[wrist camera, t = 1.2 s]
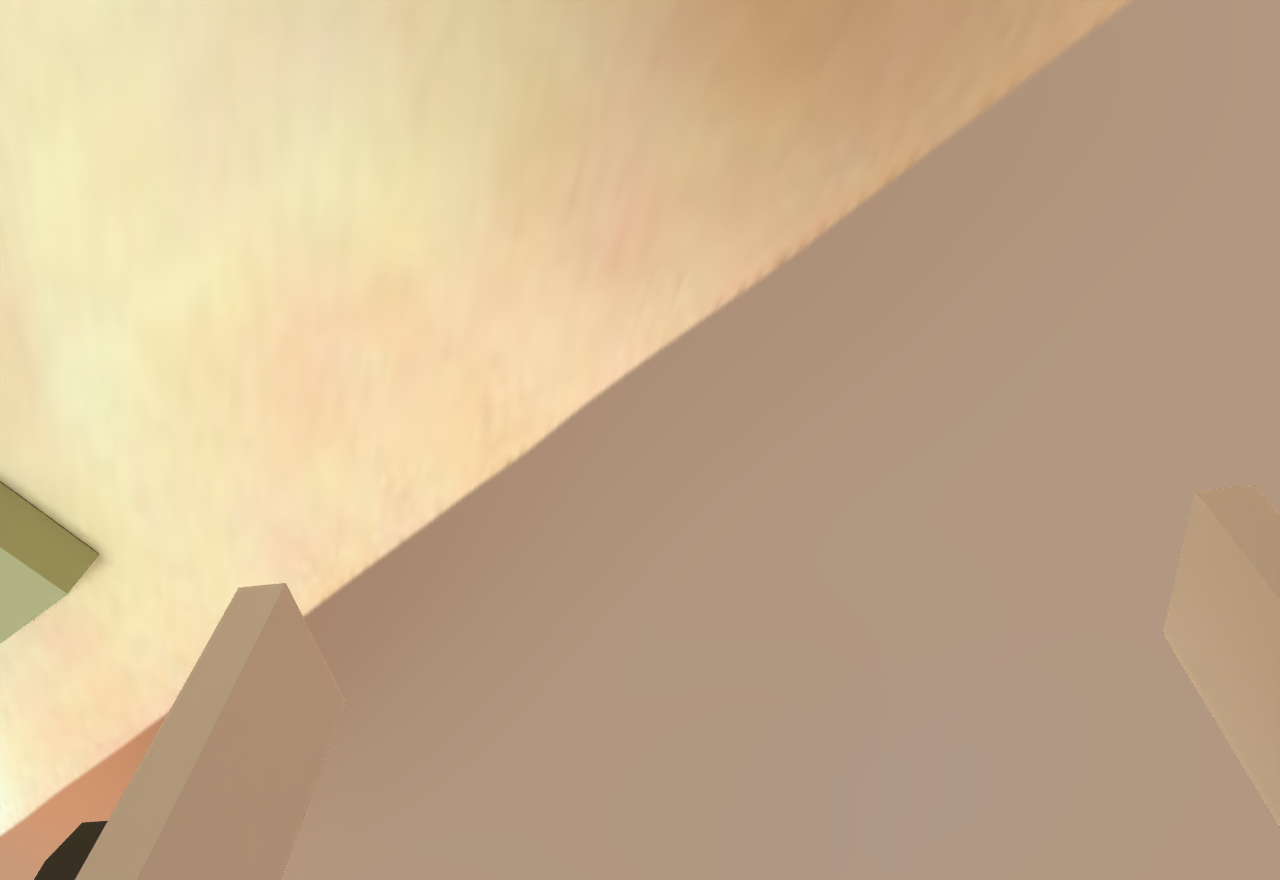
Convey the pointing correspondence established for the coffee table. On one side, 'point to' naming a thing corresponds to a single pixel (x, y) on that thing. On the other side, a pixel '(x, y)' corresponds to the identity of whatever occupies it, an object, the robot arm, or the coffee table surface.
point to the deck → (34, 562)
